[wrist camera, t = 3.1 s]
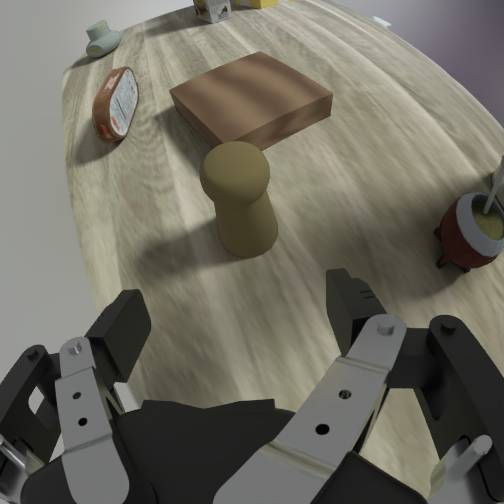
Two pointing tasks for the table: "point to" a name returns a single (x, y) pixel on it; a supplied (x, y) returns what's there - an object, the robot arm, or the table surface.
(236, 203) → the cork
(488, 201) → the mate gourd
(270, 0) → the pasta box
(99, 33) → the air freshener
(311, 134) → the table surface
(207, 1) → the brown snack box
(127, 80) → the tin
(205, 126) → the walnut base block
